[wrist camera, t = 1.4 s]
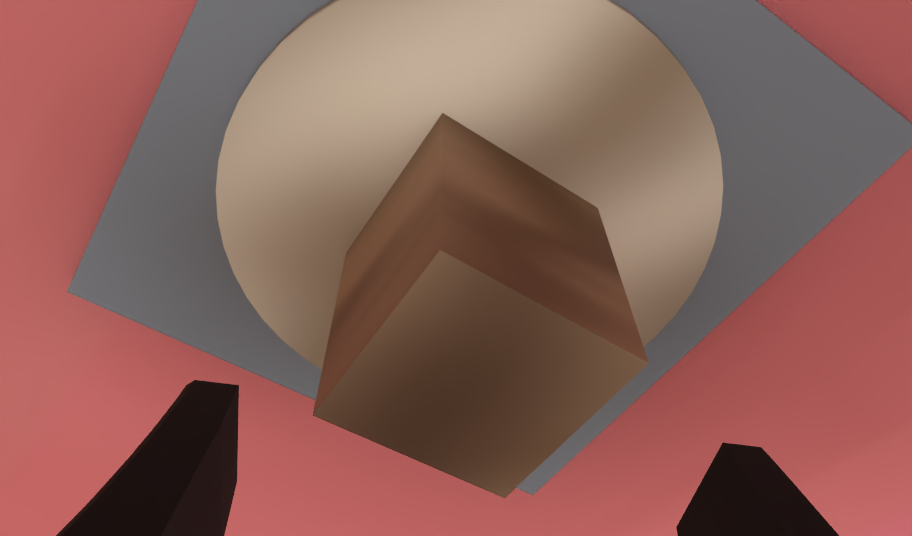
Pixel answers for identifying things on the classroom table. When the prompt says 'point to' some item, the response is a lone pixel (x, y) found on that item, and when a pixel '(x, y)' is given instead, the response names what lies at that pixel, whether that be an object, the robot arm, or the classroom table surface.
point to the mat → (654, 3)
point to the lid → (469, 217)
